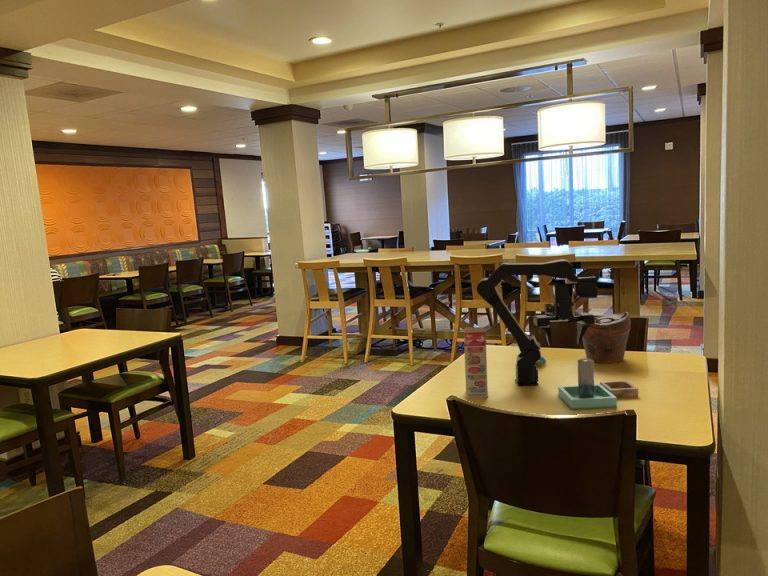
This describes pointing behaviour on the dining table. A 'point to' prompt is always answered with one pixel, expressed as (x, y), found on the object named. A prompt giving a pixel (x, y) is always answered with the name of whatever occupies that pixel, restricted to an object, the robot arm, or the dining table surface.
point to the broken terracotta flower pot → (607, 338)
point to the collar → (621, 388)
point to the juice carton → (475, 362)
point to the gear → (542, 360)
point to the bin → (599, 401)
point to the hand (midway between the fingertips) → (564, 345)
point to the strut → (585, 378)
